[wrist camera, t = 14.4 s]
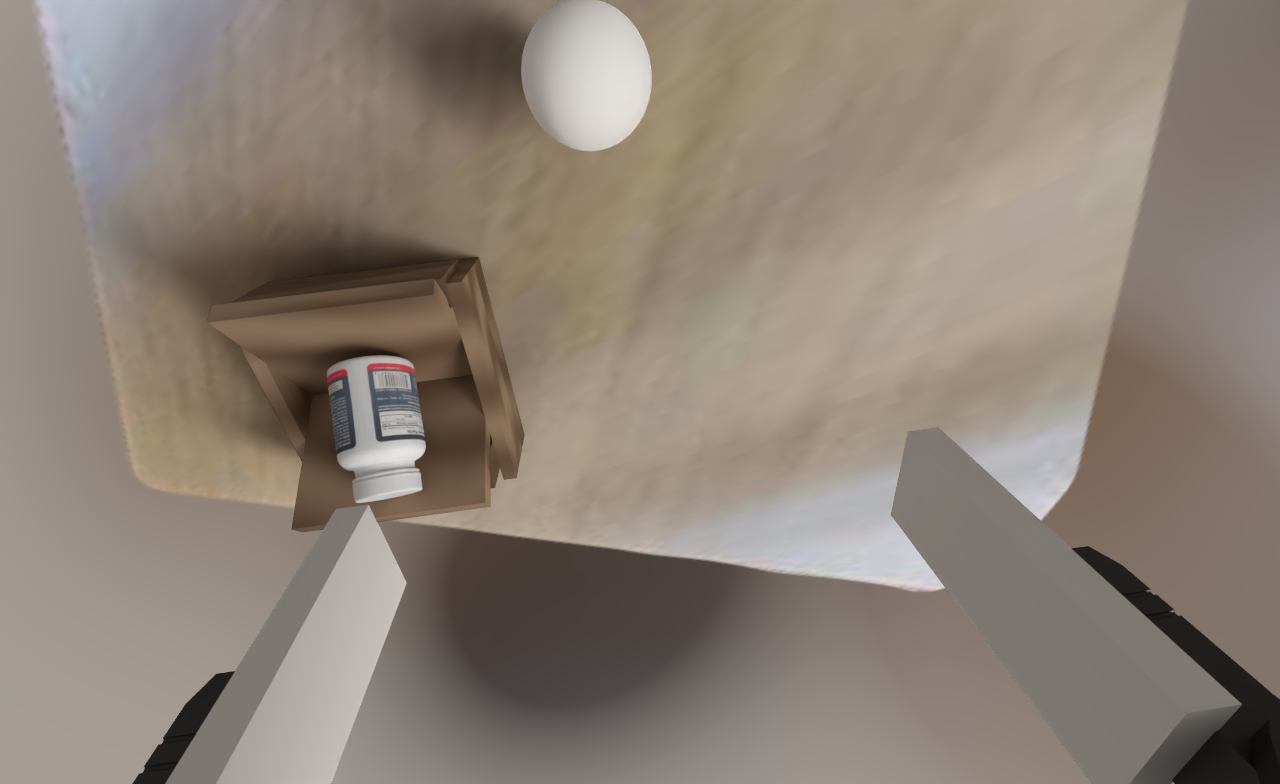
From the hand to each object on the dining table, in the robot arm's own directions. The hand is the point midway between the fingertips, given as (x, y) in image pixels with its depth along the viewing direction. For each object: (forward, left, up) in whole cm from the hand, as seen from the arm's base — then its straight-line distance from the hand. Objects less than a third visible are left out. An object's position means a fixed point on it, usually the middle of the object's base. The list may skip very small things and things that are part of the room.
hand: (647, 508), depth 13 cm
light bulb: (-10, 0, -29) cm, 31 cm away
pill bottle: (+5, -17, -23) cm, 29 cm away
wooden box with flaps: (+8, -17, -29) cm, 34 cm away
